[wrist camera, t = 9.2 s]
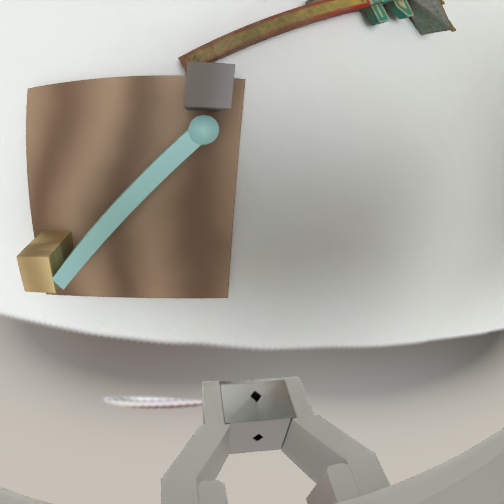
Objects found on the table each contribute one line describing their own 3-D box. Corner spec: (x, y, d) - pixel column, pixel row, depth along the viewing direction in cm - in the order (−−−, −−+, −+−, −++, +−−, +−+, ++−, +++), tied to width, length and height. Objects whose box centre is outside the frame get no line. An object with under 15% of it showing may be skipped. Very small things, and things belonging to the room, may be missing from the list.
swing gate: (218, 127, 22) (225, 130, 18) (85, 261, 25) (65, 293, 20) (202, 110, 22) (205, 108, 17) (70, 247, 24) (47, 278, 19)
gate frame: (243, 80, 22) (270, 62, 14) (226, 293, 30) (241, 359, 22) (32, 89, 18) (-30, 86, 10) (48, 289, 26) (13, 348, 18)
